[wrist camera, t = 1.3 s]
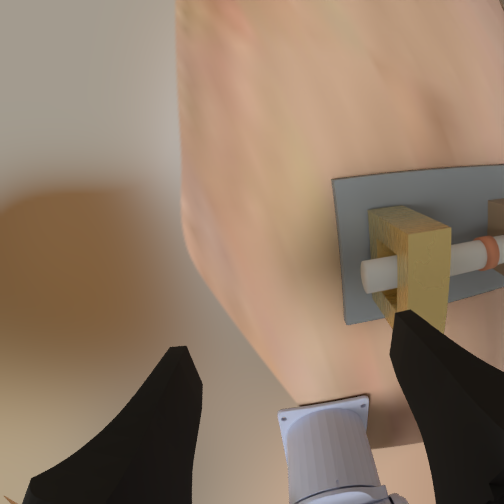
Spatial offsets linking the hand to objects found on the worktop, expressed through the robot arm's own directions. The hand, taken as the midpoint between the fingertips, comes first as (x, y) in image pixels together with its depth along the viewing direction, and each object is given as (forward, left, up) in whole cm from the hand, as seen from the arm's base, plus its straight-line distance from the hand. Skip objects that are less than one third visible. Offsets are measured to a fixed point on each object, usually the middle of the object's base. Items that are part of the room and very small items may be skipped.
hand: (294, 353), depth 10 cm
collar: (-1, -7, -10) cm, 12 cm away
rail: (-1, -11, -11) cm, 16 cm away
